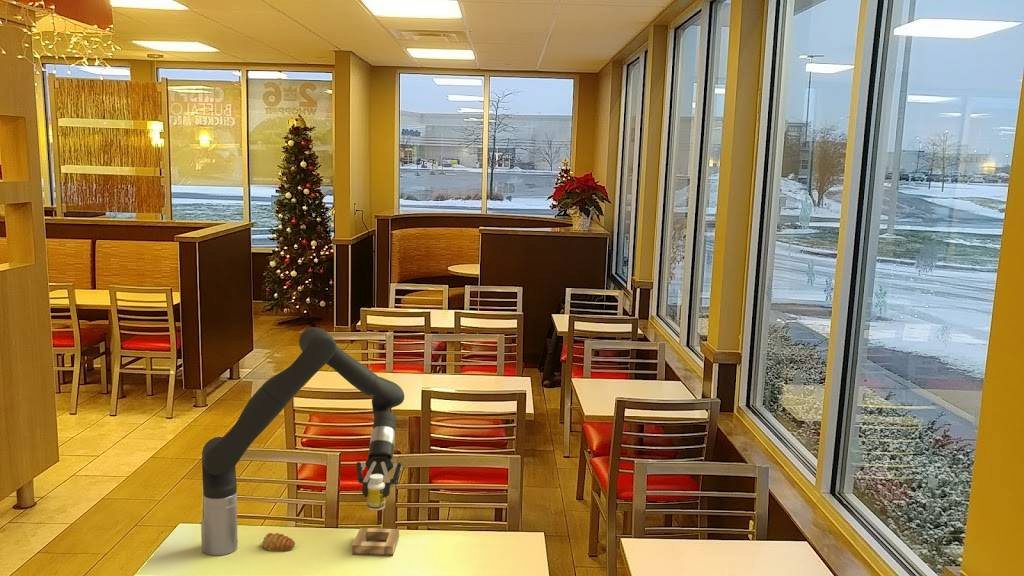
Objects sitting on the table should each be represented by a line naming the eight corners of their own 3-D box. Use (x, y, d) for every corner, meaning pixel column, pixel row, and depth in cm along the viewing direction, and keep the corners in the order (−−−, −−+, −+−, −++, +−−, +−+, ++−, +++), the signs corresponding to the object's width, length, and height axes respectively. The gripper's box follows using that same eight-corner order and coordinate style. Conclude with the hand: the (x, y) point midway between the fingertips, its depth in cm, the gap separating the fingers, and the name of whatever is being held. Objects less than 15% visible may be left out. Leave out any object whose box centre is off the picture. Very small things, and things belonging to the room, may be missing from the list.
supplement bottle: (381, 511, 237) (381, 480, 236) (364, 510, 238) (364, 478, 237) (388, 504, 242) (388, 473, 241) (371, 502, 243) (371, 472, 242)
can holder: (352, 554, 235) (352, 545, 235) (360, 537, 247) (360, 527, 247) (392, 556, 235) (392, 546, 235) (398, 538, 247) (398, 529, 247)
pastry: (299, 545, 241) (299, 533, 241) (287, 555, 235) (287, 542, 234) (272, 540, 243) (271, 528, 243) (259, 550, 237) (259, 538, 236)
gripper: (357, 438, 245) (349, 490, 235) (404, 439, 245) (398, 492, 235) (360, 449, 251) (353, 500, 241) (406, 450, 251) (400, 501, 241)
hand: (375, 496), depth 238 cm, fingers closed on supplement bottle, 5 cm apart
